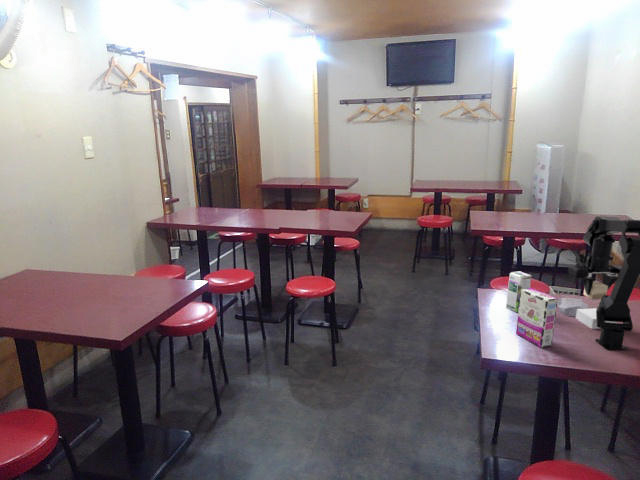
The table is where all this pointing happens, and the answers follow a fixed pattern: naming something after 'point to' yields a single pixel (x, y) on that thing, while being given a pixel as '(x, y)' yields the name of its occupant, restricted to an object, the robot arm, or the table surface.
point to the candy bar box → (536, 317)
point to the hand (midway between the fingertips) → (595, 294)
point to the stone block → (571, 306)
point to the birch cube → (597, 290)
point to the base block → (589, 317)
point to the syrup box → (516, 289)
